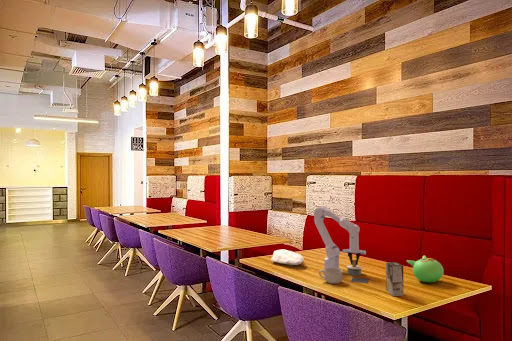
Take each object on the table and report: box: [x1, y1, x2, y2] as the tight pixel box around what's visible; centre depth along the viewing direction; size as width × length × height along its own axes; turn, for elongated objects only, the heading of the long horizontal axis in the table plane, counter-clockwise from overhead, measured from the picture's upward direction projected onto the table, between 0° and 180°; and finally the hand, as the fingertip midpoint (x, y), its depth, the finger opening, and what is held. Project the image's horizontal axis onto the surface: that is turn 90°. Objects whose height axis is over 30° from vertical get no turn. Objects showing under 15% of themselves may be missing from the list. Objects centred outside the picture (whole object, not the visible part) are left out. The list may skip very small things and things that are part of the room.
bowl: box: [347, 268, 362, 277], centre depth 242 cm, size 8×8×4 cm
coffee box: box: [385, 261, 405, 297], centre depth 203 cm, size 9×6×16 cm
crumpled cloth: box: [270, 248, 305, 266], centre depth 273 cm, size 24×35×9 cm
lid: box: [345, 259, 363, 270], centre depth 241 cm, size 10×10×5 cm
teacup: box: [318, 267, 343, 285], centre depth 223 cm, size 14×11×8 cm
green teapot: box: [406, 255, 445, 283], centre depth 225 cm, size 18×17×15 cm
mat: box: [350, 276, 370, 284], centre depth 227 cm, size 10×11×1 cm
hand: (354, 264), depth 242 cm, fingers closed on lid, 3 cm apart
